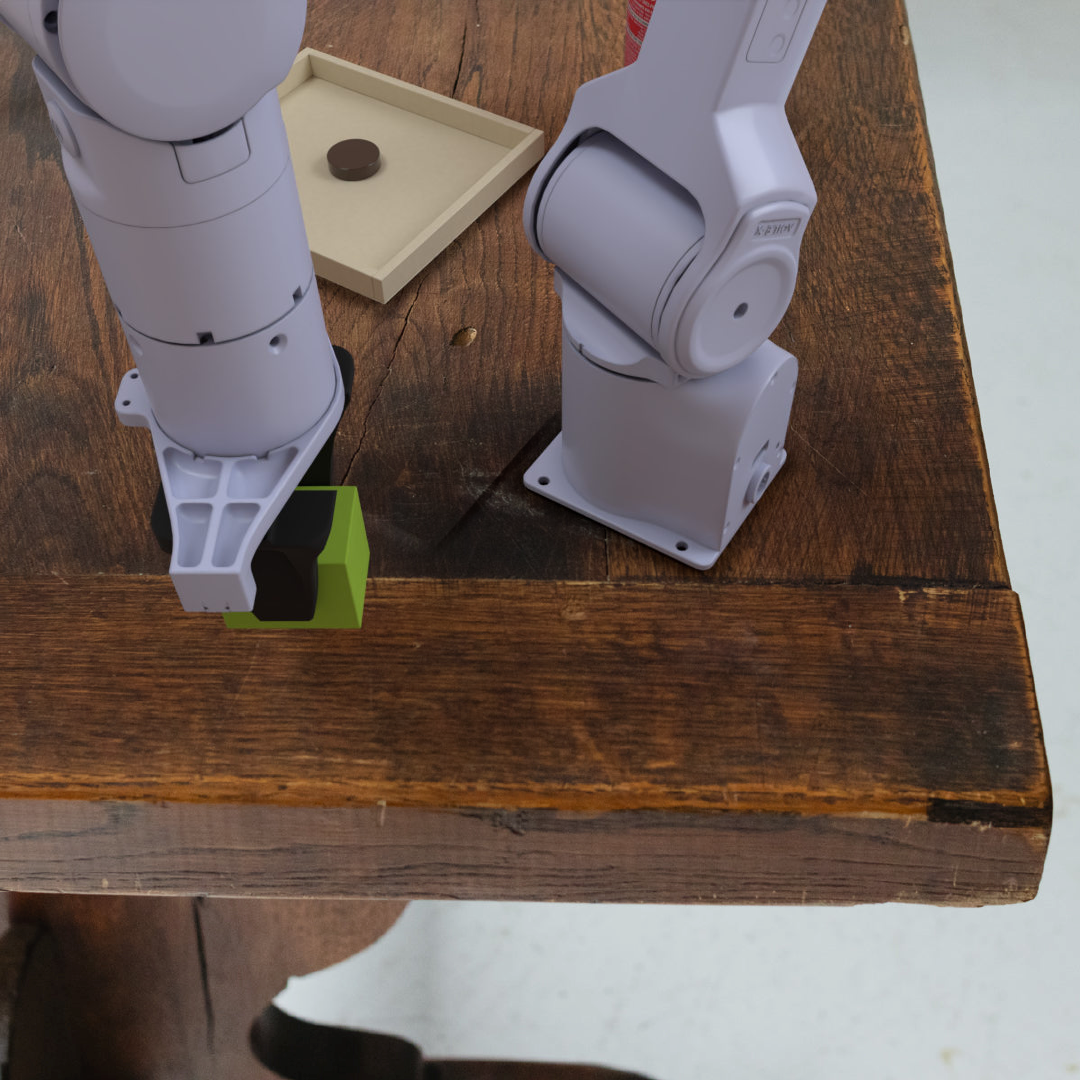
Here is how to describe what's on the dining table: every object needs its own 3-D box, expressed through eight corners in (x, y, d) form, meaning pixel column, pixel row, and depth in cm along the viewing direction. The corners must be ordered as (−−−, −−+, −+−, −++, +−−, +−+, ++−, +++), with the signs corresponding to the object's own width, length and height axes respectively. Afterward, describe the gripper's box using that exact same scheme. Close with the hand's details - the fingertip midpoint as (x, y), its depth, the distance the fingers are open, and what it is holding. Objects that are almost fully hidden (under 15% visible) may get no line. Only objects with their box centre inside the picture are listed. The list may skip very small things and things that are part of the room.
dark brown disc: (391, 160, 71) (390, 148, 71) (359, 187, 70) (357, 175, 69) (350, 144, 72) (348, 132, 72) (317, 170, 71) (315, 158, 70)
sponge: (370, 552, 49) (356, 485, 46) (361, 629, 46) (346, 563, 43) (242, 553, 49) (220, 485, 46) (226, 629, 47) (202, 563, 43)
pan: (545, 161, 72) (544, 131, 70) (385, 311, 64) (381, 280, 63) (312, 76, 78) (306, 46, 76) (139, 203, 70) (130, 172, 69)
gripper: (129, 133, 40) (219, 425, 51) (5, 467, 31) (146, 738, 42) (346, 131, 40) (392, 424, 51) (285, 466, 31) (356, 738, 42)
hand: (294, 566), depth 47 cm, fingers closed on sponge, 3 cm apart
